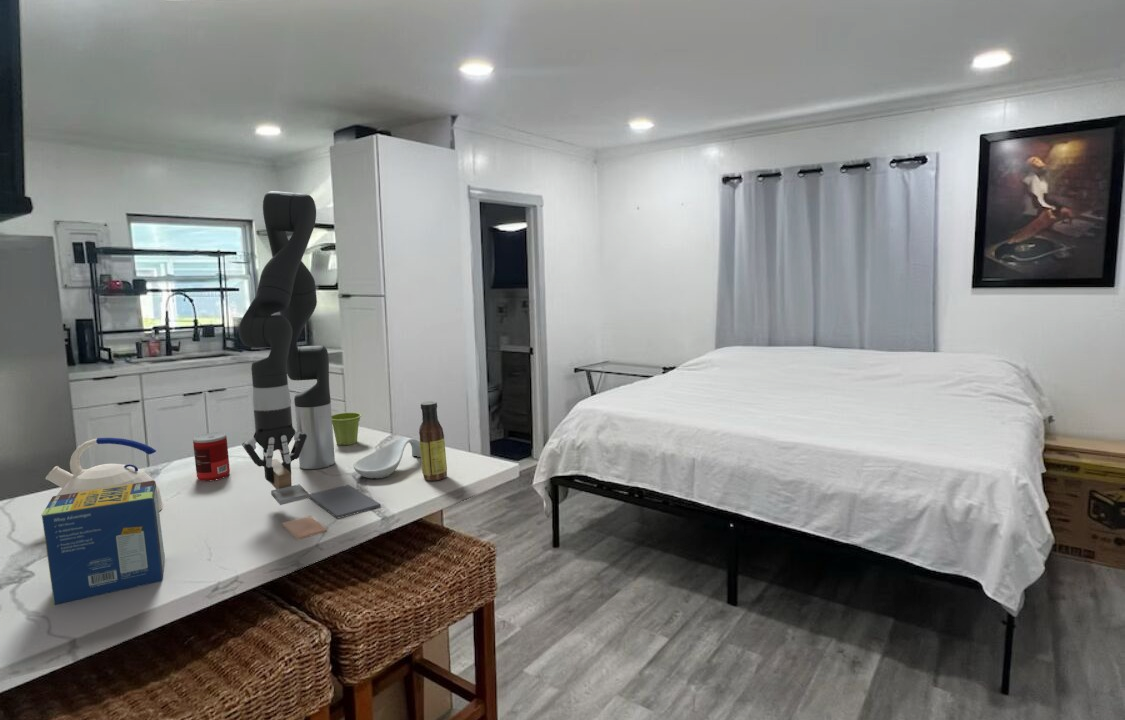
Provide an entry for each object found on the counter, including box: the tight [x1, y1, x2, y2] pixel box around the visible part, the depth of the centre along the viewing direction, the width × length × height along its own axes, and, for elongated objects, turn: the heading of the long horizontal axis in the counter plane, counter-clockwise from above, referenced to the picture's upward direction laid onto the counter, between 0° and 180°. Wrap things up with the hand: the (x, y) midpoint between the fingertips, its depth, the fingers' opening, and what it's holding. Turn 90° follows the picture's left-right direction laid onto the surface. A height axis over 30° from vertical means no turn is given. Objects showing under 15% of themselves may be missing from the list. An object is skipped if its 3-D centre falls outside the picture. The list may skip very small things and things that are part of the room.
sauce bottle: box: [418, 400, 448, 482], centre depth 161 cm, size 7×6×20 cm
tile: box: [281, 515, 328, 540], centre depth 132 cm, size 2×6×10 cm
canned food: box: [192, 432, 231, 482], centre depth 165 cm, size 8×8×11 cm
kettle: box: [45, 437, 164, 512], centre depth 139 cm, size 20×21×18 cm
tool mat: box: [309, 484, 381, 519], centre depth 146 cm, size 18×10×1 cm, turn 41°
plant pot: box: [332, 412, 362, 446], centre depth 196 cm, size 9×9×9 cm
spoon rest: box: [353, 437, 421, 479], centre depth 170 cm, size 24×12×7 cm, turn 156°
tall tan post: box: [270, 458, 310, 506], centre depth 139 cm, size 16×6×4 cm, turn 41°
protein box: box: [40, 479, 166, 605], centre depth 109 cm, size 10×15×16 cm
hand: (278, 480), depth 142 cm, fingers closed on tall tan post, 2 cm apart
